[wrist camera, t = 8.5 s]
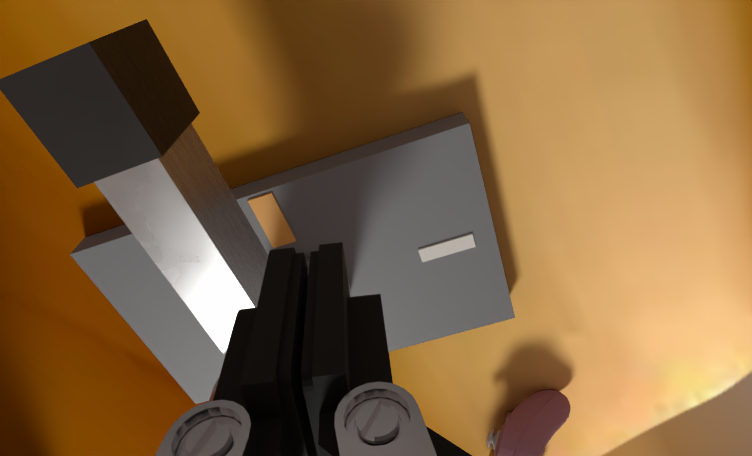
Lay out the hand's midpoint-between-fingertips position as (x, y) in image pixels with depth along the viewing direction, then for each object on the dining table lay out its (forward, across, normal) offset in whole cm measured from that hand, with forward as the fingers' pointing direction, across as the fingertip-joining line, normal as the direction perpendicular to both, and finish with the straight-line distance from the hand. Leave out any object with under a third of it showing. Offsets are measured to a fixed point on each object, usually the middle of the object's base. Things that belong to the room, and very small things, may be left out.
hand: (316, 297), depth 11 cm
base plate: (+13, +2, +8) cm, 15 cm away
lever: (+11, +3, +3) cm, 12 cm away
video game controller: (+13, -10, +24) cm, 29 cm away
